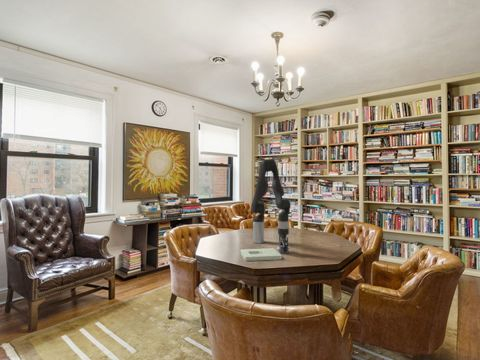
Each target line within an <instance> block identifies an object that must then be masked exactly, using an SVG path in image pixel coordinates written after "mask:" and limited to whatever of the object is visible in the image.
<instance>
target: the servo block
mask: <svg viewBox="0 0 480 360" xmlns="http://www.w3.org/2000/svg"><path fill="white" fill-rule="evenodd" d="M285 245H286V244H285ZM275 249H276V250H278V252H279V253H280V254H281V255H284V254H285V255H286V254H289V250H291V247H290V246H289V245H288V246H287V252H284V246H283V245H280V244H279V245H278V246H277V247H276V248H275Z"/></svg>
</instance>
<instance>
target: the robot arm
mask: <svg viewBox="0 0 480 360" xmlns="http://www.w3.org/2000/svg"><path fill="white" fill-rule="evenodd" d="M269 172H271V173H272V183H271V189H272V192H273V194H274V201H275V202H274V203H275V206H276V208H277V209H278V210H281V212H278V216H277V217H278V221H277V232H278V233H277V234H278V242H279V245H283V246H284V252H287V246H288V247H289V237H288V235H289V233H290V228H289V227H290V226H289V225H290V224H289V214H290V211H291V208H292V207H291V206H292V205H291V201H290V200H289V199H288V198H285V199H284V198H283V196H285V191H284V188H283V186H282V182H281V180H280V179H281V178H280V173H279V170H278V165H277V162H276V161H275V159H273V158H269V159H262V160H261V161H260V164H259V170H258V177H257V182H256V186H255V191H254V194H253V195H254V196H253V198H252V201H251V205H250V213H252V214H258V215H256V216H255V217H253V219H252V243H254V244H264V243H265V212H266V211H265V208H266V207H265V203H264V202H263V201H260V200H261V199H263V197H265V195H266V194H267V193H268V191H269V190H268V189H269V182H268V180H267V178H266V174H267V173H269ZM285 244H286V245H285Z"/></svg>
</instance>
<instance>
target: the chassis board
mask: <svg viewBox="0 0 480 360" xmlns="http://www.w3.org/2000/svg"><path fill="white" fill-rule="evenodd" d="M240 254H241V256H242V258H243V260H244V261H245V262H250V261H251V262H252V261H254V262H256V261H273V260H274V261H276V260H279V261H280V260H282V259H283V254H280V253H279V251H278V250H277V249H276V248H272V247H269V248H243V249H240Z"/></svg>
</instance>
